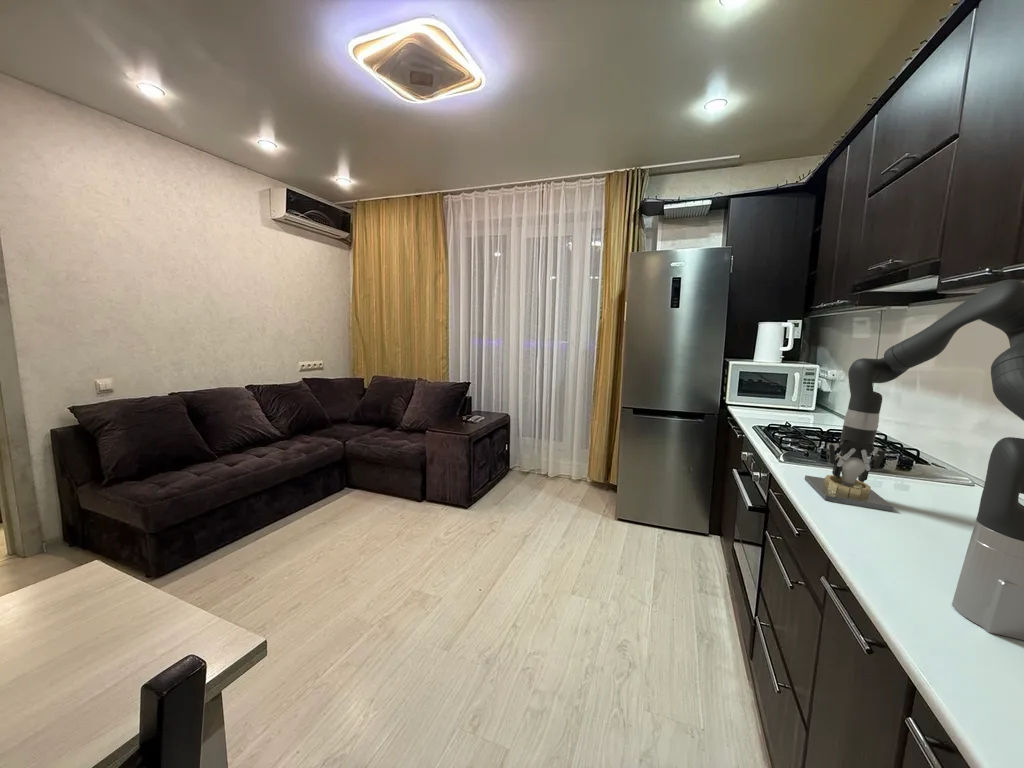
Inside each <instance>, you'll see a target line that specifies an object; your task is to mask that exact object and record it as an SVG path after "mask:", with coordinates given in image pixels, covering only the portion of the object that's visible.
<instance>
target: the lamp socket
mask: <svg viewBox="0 0 1024 768" xmlns="http://www.w3.org/2000/svg"><path fill="white" fill-rule="evenodd" d="M803 480H804V481H805V482H807V484H808V485H809V486H810V487H811V488H812V489H813V490H814V491H815V492H816V493H817V494H818V495H819V496H820V497H821V498H822V500H823V501H827V502H833V503H837V504H838V503H839V504H844V505H850V506H854V507H855V506H856V507H862V508H868V509H875V510H880V511H886V512H894V508H895V507H894V506H893V504H891V503H890V502H888V501H887V500H886V499H885V498H883V497H882V496H880V495H879V494H878V493H877V492H875V491H874V490H873V489H871V488H872V487H871V486H870V485H869V484H867V482H865V481H864V482H861V481H859V480H858V479H856V481H855V483H854V484H853V487H848V486H845V485H842V475H840V478H836V477H834V475H833V474H827V475H826V476H825V477H821V476H820V477H819V476H812V475H804V479H803Z"/></svg>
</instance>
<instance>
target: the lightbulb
mask: <svg viewBox="0 0 1024 768" xmlns="http://www.w3.org/2000/svg"><path fill="white" fill-rule="evenodd" d="M841 467H842V469H841V476H842V485H845V486H848V487H853V484H854V483H855V481H856V480H858V476H859V475H861V474H862V473H863V472H864V471H865V468H866V466H865V464H864V462H863V460H862V459H859V458H854V457H851V458H849V459H848V460H847V461H845V462H844V463H843V464H842V466H841Z"/></svg>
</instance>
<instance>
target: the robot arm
mask: <svg viewBox="0 0 1024 768" xmlns="http://www.w3.org/2000/svg"><path fill="white" fill-rule="evenodd" d="M976 321H981V322H984V323H986V324H988V325H990V326H993V327H994V328H997V329H999V330H1000V331H1002V332H1003V333H1004V334H1005V336H1007V339H1008V343H1009V348H1007V349H1005V350H1004V351H1002V352H1001V353H1000V354H999V355H998V356H997V357H996V358H995V359H994V360H993V361H992V364H991V366H990V376H991V377H990V378H991V386H992V391H993V394H994V395H995V397H996V398H997V400H998V401H999V402H1000V403H1001V404H1002V405H1003V406H1004V407H1005V408H1006V409H1007V410H1009V411H1010V412H1011V413H1012V414H1014V415H1015V416H1016V417H1018V418H1019V419H1020V420H1022V421H1023V422H1024V282H1023V281H1020V280H1018V279H1005V280H1004V279H1003V280H1000V281H997V282H995V283H994V284H993V283H992V284H990V285H989V286H987V287H985V288H983V289H982V290H980V291H978V292H977V293H976V294H973V295H972V296H971V297H969V298H968V299H967V300H965V301H963V302H962V303H960V304H958V305H957V306H956V307H955V308H953V309H952V310H950V311H949V312H947V313H946V314H943V316H942V317H940V318H939V319H937V320H936V321H935V322H933V323H931V324H930V325H928V326H927V327H926V328H924V329H923V330H921V331H919V332H918V333H915V334H914V335H912V336H909V337H908V338H906V339H904V340H902V341H899V342H898V343H896V344H894V345H892V346H891V347H888V348H887V349H886V350H885V352H884V353H883V357H881V358H865V357H864V358H858V359H856V360H854V361H853V362H852V364H851V365H850V367H849V368H848V375H847V376H848V377H847V378H848V386H849V387H848V388H849V393H850V397H849V401H848V406H847V410H846V413H845V415H844V420H843V424H842V430H841V435H840V440H838V442H837V443H832V442H826V446H825V447H826V460H827V462H829V463H830V464H831V465H833V467H832V472H831V475H834V477H836V478H840V476H841V475H842V473H841V469H842V467H841V466H842V464H843V463H844V462H845V461H847V460H848V459H849V458H851V457H854V458H859V459H862V460H863V462H864V464H865V466H866V468H865V471H864V472H863V473H862V474H861V475H859V476H858V478H857V480H859V481H861V482H864V483H865V481H867V480H868V477H869V472H870V471H872V470H875V471H877V470H878V469H879V467H880V466H881V464H882V462H883V460H884V457H885V456H886V453H887V452H886V451H884V450H882V449H881V448H874V444H875V440H876V435H877V431H878V428H879V423H880V413H881V407H882V403H883V395H882V394H881V393H879V392H877V391H874V384H885V383H888V382H891V381H893V380H895V379H897V378H899V377H900V376H901V375H903V374H905V373H906V372H907V371H908V370H909V369H911V368H915V367H917V366H919V365H921V364H923V363H925V362H928V361H930V360H933V359H934V358H936V357H937V356H939V355H940V354H941V353H942V352H943V351H944V350H945V349H946V347H947V346H948V345H949V343H950V341H951V340H952V338H953V337H954V335H955V334H956V333H957V331H959V330H960V329H961V328H963V327H964V326H966V325H968V324H971V323H973V322H976ZM838 449H839V450H840V451H839V452H838V454H837V455H836V453H835V452H836V451H837V450H838ZM871 454H872V455H873V456H872V457H871V459H870V461H869V458H868V456H870V455H871ZM983 485H984V486H983V488H982V494H981V496H980V502H979V508H978V512H977V515H976V519H975V521H974V525H973V529H972V533H971V536H970V539H969V543H968V545H967V550H966V553H965V556H964V560H963V562H962V563H963V564H962V566H961V570H960V574H959V578H958V581H957V584H956V588H955V591H954V594H953V600H952V602H951V604H952V607H953V608H954V610H955V611H957V612H958V613H959V614H960V615H961V616H963V617H964V618H966V619H967V620H969V621H971V622H973V623H974V624H976V625H978V626H979V627H982V628H983V630H985V631H986V632H988V633H991V634H994V635H998V636H999V635H1000V636H1005V637H1008V638H1013V639H1017V640H1021V641H1024V504H1022V503H1020V502H1019V496H1020V494H1021V495H1024V438H1021V437H1014V436H1008V437H1006V436H1005V437H1003V438H1000V440H998V441H996V443H995V445H994V446H993V448H992V450H991V451H990V456H989V459H988V464H987V470H986V475H985V481H984V484H983Z"/></svg>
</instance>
